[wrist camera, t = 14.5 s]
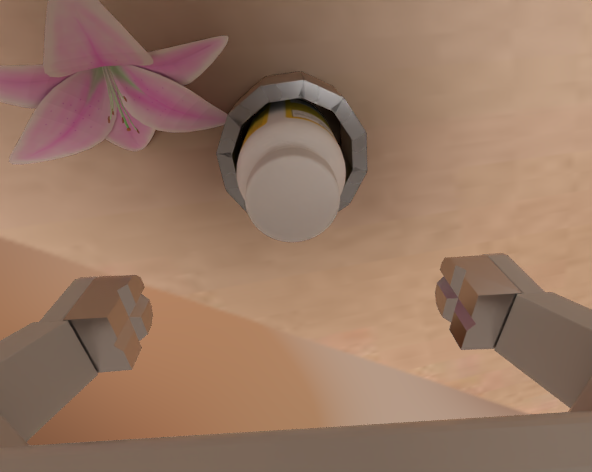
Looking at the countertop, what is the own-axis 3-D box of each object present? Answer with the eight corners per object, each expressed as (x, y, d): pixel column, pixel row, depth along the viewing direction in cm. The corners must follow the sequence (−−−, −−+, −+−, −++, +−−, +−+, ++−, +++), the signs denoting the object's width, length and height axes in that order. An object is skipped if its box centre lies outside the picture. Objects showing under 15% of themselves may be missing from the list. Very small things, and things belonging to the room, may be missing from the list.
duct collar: (216, 172, 23) (202, 200, 19) (253, 49, 19) (245, 52, 15) (321, 211, 25) (328, 243, 21) (375, 105, 21) (394, 120, 17)
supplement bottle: (260, 184, 24) (246, 265, 15) (238, 106, 21) (206, 152, 13) (335, 169, 23) (363, 244, 15) (323, 86, 21) (348, 121, 12)
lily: (41, 126, 22) (22, 241, 17) (-101, -129, 13) (-233, -39, 8) (221, 116, 26) (249, 209, 21) (212, -92, 16) (260, -12, 11)
